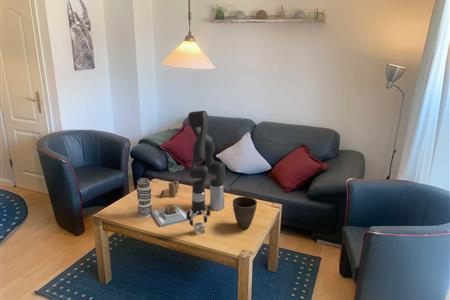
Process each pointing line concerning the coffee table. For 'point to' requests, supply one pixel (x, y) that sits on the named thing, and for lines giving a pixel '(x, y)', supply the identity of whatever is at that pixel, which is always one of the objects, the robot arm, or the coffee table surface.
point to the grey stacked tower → (144, 197)
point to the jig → (169, 216)
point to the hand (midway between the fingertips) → (198, 223)
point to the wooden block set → (171, 189)
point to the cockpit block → (199, 228)
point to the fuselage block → (170, 209)
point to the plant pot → (244, 210)
